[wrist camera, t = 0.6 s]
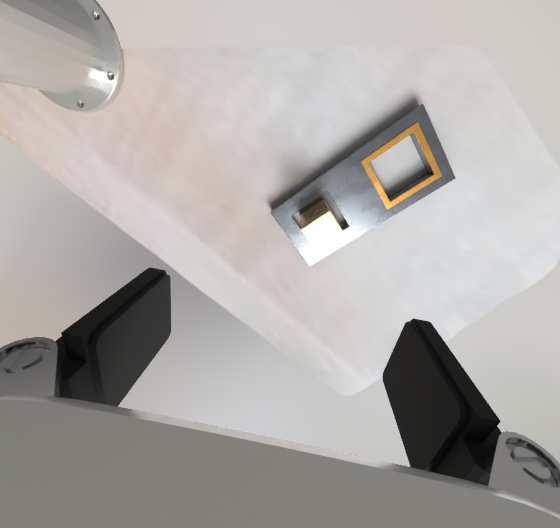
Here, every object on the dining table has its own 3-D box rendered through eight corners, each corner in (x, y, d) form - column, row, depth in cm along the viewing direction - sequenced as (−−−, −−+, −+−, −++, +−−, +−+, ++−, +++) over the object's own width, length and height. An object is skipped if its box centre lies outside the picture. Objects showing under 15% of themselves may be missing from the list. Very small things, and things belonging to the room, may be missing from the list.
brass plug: (315, 236, 39) (318, 255, 33) (300, 215, 38) (300, 229, 31) (338, 221, 38) (346, 237, 32) (323, 199, 37) (329, 211, 30)
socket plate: (309, 261, 41) (309, 266, 39) (271, 210, 38) (270, 213, 36) (449, 176, 34) (456, 178, 33) (417, 105, 31) (423, 103, 30)
